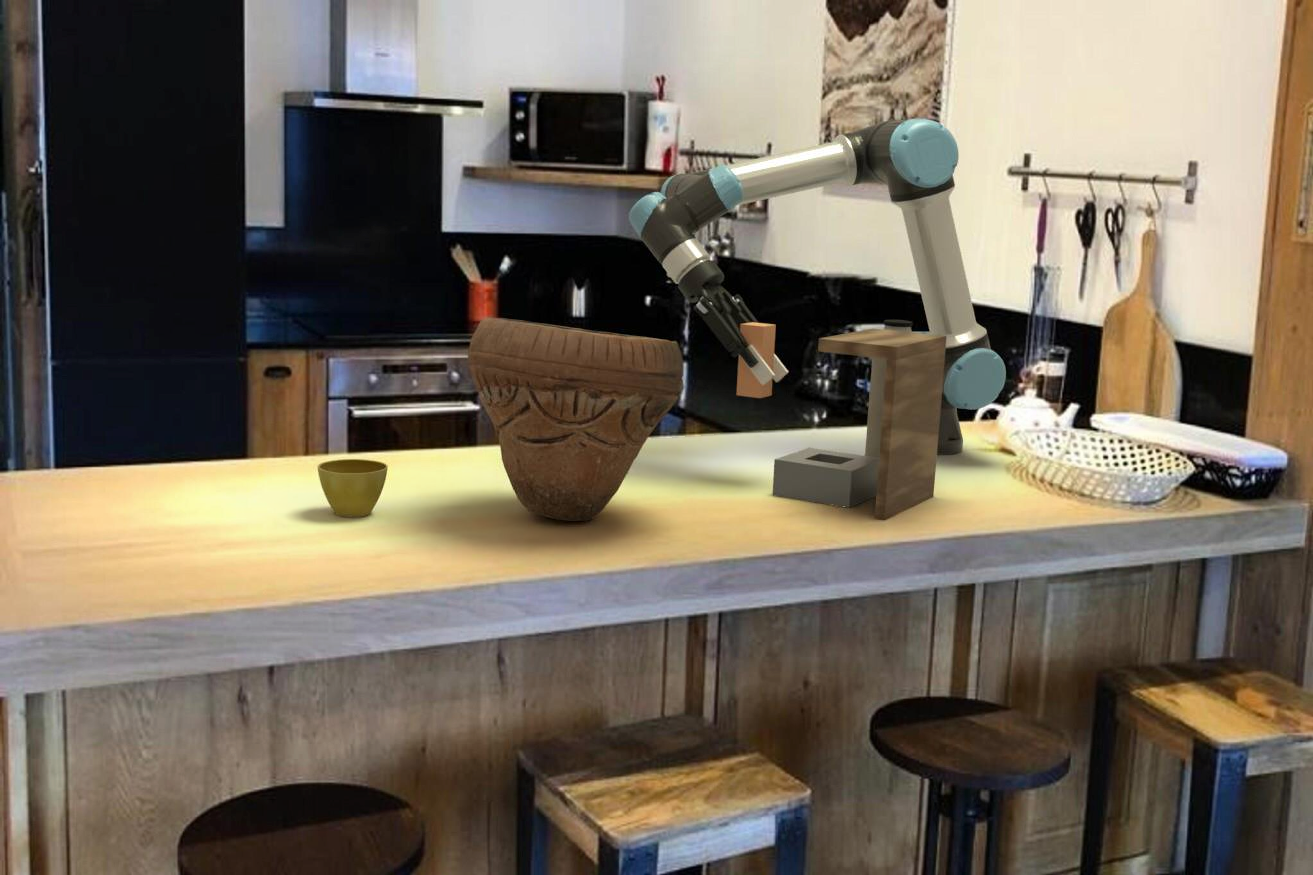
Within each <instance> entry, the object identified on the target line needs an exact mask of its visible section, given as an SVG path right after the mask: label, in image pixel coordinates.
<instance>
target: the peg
mask: <svg viewBox="0 0 1313 875" xmlns="http://www.w3.org/2000/svg"><path fill="white" fill-rule="evenodd" d="M776 329H777V328H776V324H773V323H772V324H771V323H765V322H764V323H763V322H758V323H755V322H751V323H744V324H740V331H741V333H742V335H743V336H744V338H745V340H746V341H747V343H748V346H747V347H749V346H750V345H753V347H754V348H755V349H756V350H757V352H758V353H759V354H760V356H761V357H762V358H763V360H764V361H765V362H766V363H767V365H768V366H769V367H770V369H771V370H772V371H773V362H774V353H775V347H776V346H775V345H776V344H775V342H776ZM739 355H740V354H738V363H737V377H736V378H737V381H736V396H739V397H740V396H741V397H747V398H748V397H749V398H756V399H763V398H766V397H770V396H772V394H773V391H772V390H773V381H774V379H773V378H772V379H771V380H769V381H768V382H767V383H766V384H765V385H763V386H762V385H761V383H760V382H759V381H758V379H757V378H756V377H755V375H754V374H753V373H752V371H751V370H750V369H749V367H748V366H747V365H746V363H745V362H744V361H743V360H742V358H741V357H740V356H739Z"/></svg>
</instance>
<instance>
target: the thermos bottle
mask: <svg viewBox="0 0 1313 875" xmlns="http://www.w3.org/2000/svg"><path fill="white" fill-rule="evenodd" d="M913 322H914V321H910V320H904V319H885V320H884V321H883V325H884V327H883V328H882V329H883V330H892V331H902V332H913V330H912V327H913ZM886 360H887V359H883V358H874V357H871V374H870V384H869V394H868V395H869V396H868V398H869V399H868V409H867V410H868V412H867V421H866V422H867V423H866V424H867V425H866V438H865V450H864V451H865V453H864V456H869V457H876V458H879V454H880V441H881V427H882V414H883V401H884V387H885V374H886Z"/></svg>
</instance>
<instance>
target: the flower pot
mask: <svg viewBox="0 0 1313 875" xmlns="http://www.w3.org/2000/svg"><path fill="white" fill-rule="evenodd" d="M388 467H389V466H388V464H387V463H384V462H383V461H377V460H373V459H372V460H371V459H364V458H363V459H362V458H347V459H346V458H345V459H344V458H343V459H342V458H341V459H333V460H328V461H324V462H321V463H319V464H318V465H317V472H318V473H317V474H318V478H319V482H320V485H321V488H322V491H323V494H324V496H325V498H326V500H327V503H328V505H329V506H330V508H331V509H332V511H333V512H334V513H335V515H337V516H339V517H343V518H361V517H367V516H368V515H370V514H371V512H372V511H373V510H374V509H375V506H376V505H377V503H378V502H379V499H380V497H381V494H382V491H383V489H384V486H385V483H386V479H387V474H388Z"/></svg>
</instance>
